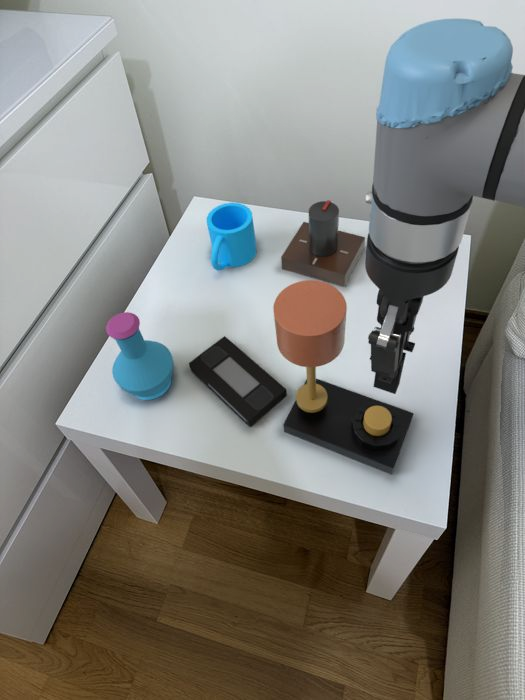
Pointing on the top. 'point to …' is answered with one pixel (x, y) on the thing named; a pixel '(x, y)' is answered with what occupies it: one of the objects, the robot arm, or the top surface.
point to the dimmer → (323, 228)
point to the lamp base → (350, 428)
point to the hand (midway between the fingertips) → (386, 385)
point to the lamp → (310, 333)
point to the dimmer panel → (325, 267)
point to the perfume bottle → (139, 359)
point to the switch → (377, 420)
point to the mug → (231, 235)
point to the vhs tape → (238, 380)
